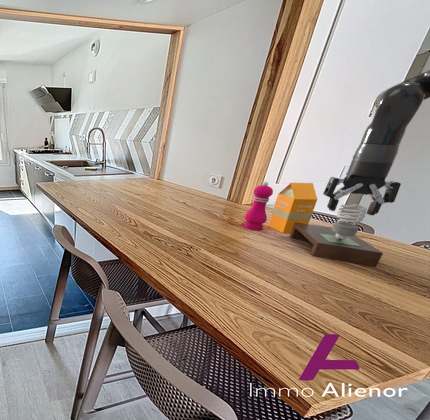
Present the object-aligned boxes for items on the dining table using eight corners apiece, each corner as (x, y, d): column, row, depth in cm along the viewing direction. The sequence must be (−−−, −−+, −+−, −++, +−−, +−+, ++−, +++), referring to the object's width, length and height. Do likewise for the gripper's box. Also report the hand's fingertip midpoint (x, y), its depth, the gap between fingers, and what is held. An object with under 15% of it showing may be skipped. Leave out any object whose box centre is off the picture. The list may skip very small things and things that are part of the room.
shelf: (339, 243, 89) (345, 228, 87) (374, 270, 73) (383, 252, 71) (289, 236, 96) (294, 221, 94) (311, 259, 79) (318, 242, 77)
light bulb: (334, 241, 77) (350, 205, 73) (322, 234, 82) (336, 200, 78) (358, 244, 75) (375, 207, 71) (344, 237, 80) (359, 202, 76)
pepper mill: (260, 226, 105) (274, 180, 99) (266, 232, 99) (280, 184, 93) (240, 223, 108) (252, 179, 102) (244, 229, 102) (257, 182, 96)
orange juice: (267, 225, 106) (281, 180, 99) (288, 226, 105) (304, 181, 99) (282, 233, 98) (299, 185, 92) (305, 233, 98) (323, 185, 92)
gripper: (345, 159, 71) (324, 212, 76) (420, 163, 64) (392, 220, 70) (332, 157, 77) (314, 205, 82) (399, 160, 71) (375, 212, 76)
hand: (350, 212), depth 76 cm, fingers open, 8 cm apart
